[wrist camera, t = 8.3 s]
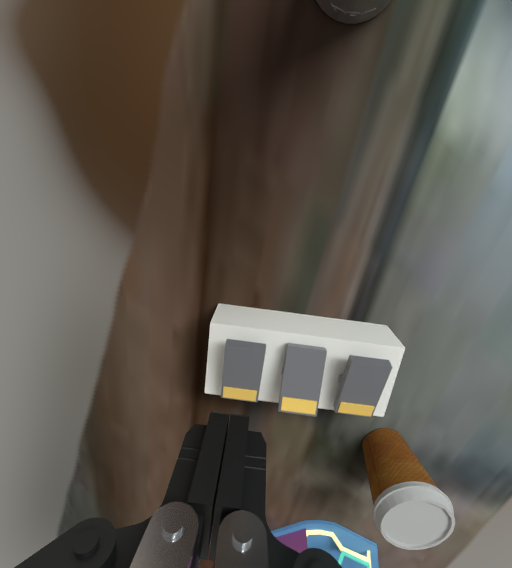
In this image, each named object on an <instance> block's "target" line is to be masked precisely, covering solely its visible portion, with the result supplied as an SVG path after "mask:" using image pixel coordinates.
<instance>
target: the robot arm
mask: <svg viewBox="0 0 512 568" xmlns="http://www.w3.org/2000/svg"><path fill="white" fill-rule="evenodd" d="M391 1H392V0H316V2H317V3H318V5H319V6H320V8H321V9H322V10H323V11H324V12H325V13H326V14H327V15H328V16H329V17H331V18H333V19H334V20H336V21H338V22H342V23H346V24H357V23H361V22H365V21H368V20H370V19H371V18H373V17H375V16H377V15H378V14H379V13H380V12H382V11H383V10H384V9H385V8H386V7H387V6H388V4H389V3H390V2H391ZM228 423H229V428H228ZM248 424H249V416H244V415H237V414H231V416H230V422H229V414H228V413H221V412H213V411H211V413H210V417H209V421H208V424H207V425H199V424H195V425H194V426H193V427H192V428H191V429H190V430H189V431H188V432H187V433H186V435H185V438H184V441H183V444H182V448H181V450H180V453H179V456H178V459H177V462H176V465H175V468H174V471H173V474H172V477H171V480H170V483H169V486H168V489H167V492H166V495H165V498H164V500H163V503H162V505H161V506H160V508H159V509H158V510H157V511H156V512H155V513H154V515H153V516H151V517H150V518H149V519H147V520H145V521H144V522H141V523H139V524H136V525H132V526H127V527H123V528H118V529H115V528H114V526H113V525H112V523H111V522H109V521H108V520H106V519H104V518H90V519H87V520H84V521H82V522H80V523H78V524H77V525H75V526H74V527H72V528H71V529H69V530H68V531H66V532H65V533H64V534H62V535H61V536H59V537H58V538H56V539H55V540H53V541H52V542H51V543H49V544H48V545H46V546H45V547H44V548H42V549H40V550H39V551H38V552H36V553H35V554H33V555H32V556H30V557H29V558H28V559H26V560H25V561H23V562H22V563H20V564H19V565H17V566H16V567H15V568H198V566H199V561H200V559H204V560H207V556H208V550H209V544H210V539H211V547H210V556H209V560H213V561H214V568H342V567H341V565H340V564H339V563H338V561H337V560H336V559H335V558H334V557H333V556H332V555H331V554H329V553H328V552H326V551H324V550H322V549H319V548H308V549H306V550H304V551H302V552H301V553H299V552H297V551H295V550H293V549H291V548H290V547H288V546H286V545H284V544H283V543H281V542H280V541H279V540H277V539H276V538H275V536H274V535H273V534H272V533H271V531H270V529H269V527H268V525H267V522H266V517H265V490H266V443H265V440H264V438H263V436H262V434H261V432H253V431H248ZM227 432H228V434H227ZM212 527H213V529H212ZM211 533H212V538H211Z"/></svg>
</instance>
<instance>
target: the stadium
mask: <svg viewBox="0 0 512 568" xmlns="http://www.w3.org/2000/svg"><path fill="white" fill-rule="evenodd" d="M271 533H272V534H273V535H274V536H275V538H276V539H277V540H279V541H280V542H281V543H283V544H284V545H286V546H288V547H290V548H291V549H293V550H295V551H297V552H299V553H301V552H302V551H304V550H306V549H308V548H319V549H322V550H324V551H326V552H328V553H329V554H331V555H332V556H333V557H334V558H335V559H336V560H337V561H338V563H339V564H340V565H341V567H342V568H378V551H377V544H376V543H374V542H372V541H370V540H368V539H366V538H364V537H362V536H360V535H358V534H356V533H354V532H352V531H350V530H348V529H346V528H344V527H343V526H341V525H339V524H337V523H334V522H329V521H324V520H305V521H302V522H299V523H295V524H292V525H289V526H286V527H283V528H279V529H276V530H273V531H271Z"/></svg>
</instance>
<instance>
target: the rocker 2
mask: <svg viewBox="0 0 512 568" xmlns="http://www.w3.org/2000/svg"><path fill="white" fill-rule="evenodd" d="M326 355H327V350H326V348H324V347H317V346H309V345H302V344H294V343H287V346H286V353H285V360H284V367H283V374H282V381H281V388H280V395H279V402H278V412H285V413H292V414H300V415H307V416H315V417H317V411H318V405H319V398H320V392H321V386H322V380H323V373H324V367H325V361H326Z"/></svg>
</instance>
